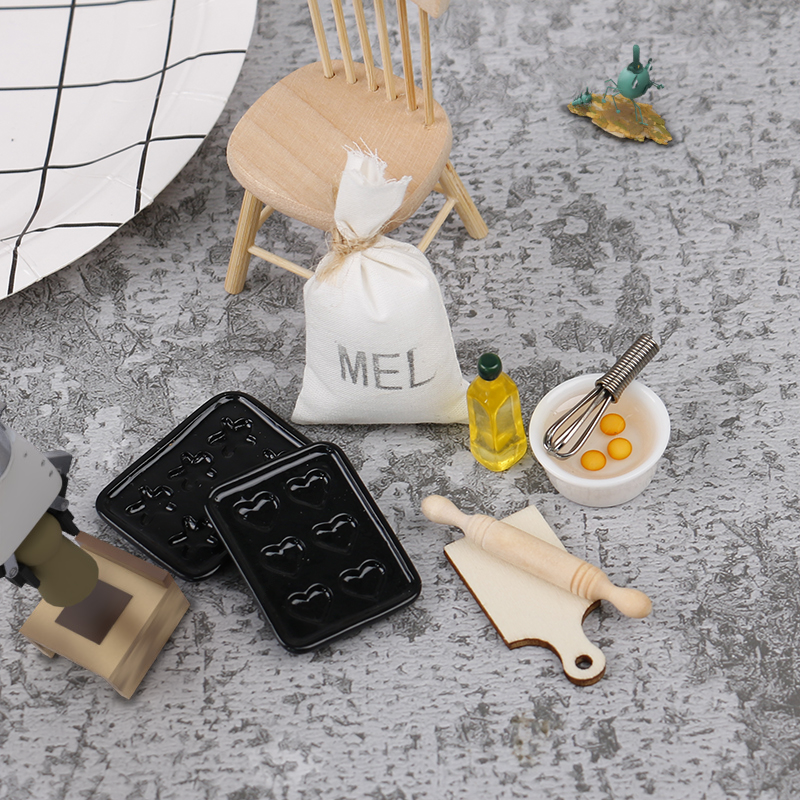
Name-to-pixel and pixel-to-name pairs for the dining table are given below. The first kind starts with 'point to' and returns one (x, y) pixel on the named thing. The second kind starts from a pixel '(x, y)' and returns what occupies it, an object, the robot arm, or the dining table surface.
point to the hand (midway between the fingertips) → (46, 553)
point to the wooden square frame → (112, 618)
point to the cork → (57, 564)
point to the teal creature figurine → (625, 105)
